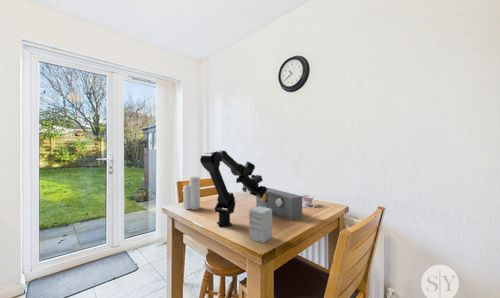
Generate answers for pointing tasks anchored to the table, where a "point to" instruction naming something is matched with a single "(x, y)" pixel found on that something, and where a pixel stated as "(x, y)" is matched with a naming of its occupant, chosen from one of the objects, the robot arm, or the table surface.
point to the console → (290, 204)
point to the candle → (192, 194)
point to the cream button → (279, 202)
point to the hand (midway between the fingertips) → (261, 197)
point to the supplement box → (260, 224)
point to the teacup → (307, 201)
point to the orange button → (264, 197)
